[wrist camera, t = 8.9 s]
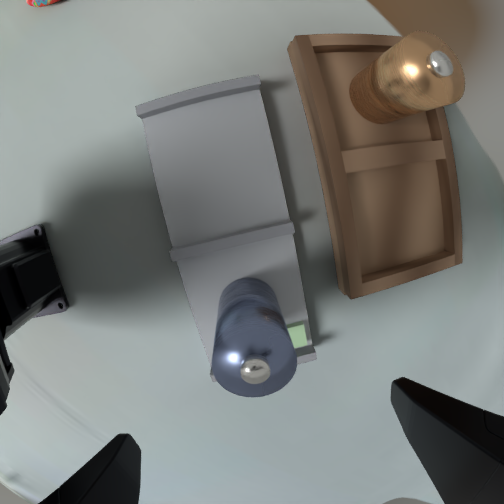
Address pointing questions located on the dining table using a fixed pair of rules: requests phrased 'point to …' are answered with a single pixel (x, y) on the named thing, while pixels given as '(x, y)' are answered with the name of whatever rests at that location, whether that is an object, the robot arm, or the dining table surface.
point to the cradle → (225, 201)
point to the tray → (377, 171)
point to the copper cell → (408, 80)
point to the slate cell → (252, 340)
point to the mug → (40, 2)
